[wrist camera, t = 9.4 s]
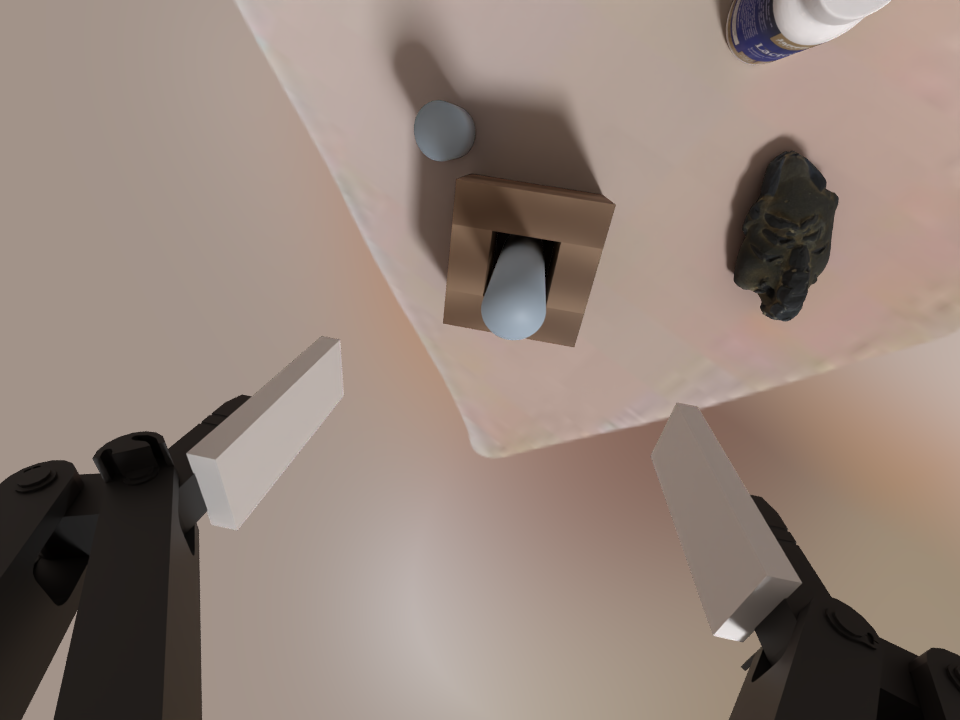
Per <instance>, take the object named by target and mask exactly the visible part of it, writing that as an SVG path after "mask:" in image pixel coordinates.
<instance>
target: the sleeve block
mask: <svg viewBox="0 0 960 720" xmlns="http://www.w3.org/2000/svg"><path fill="white" fill-rule="evenodd" d="M615 206H616V205H615V204H614V203H613V202H611V201H610V200H609V199H607V198H606V197H605V196H604V195H601V194H595V193H589V192H582V191H576V190H570V189H563V188H557V187H551V186H545V185H538V184H532V183H526V182H519V181H513V180H507V179H500V178H494V177H488V176H481V175H475V174H469V175H467V176H464V177H461V178H458V179H456V187H455V198H454V209H453V220H452V231H451V242H450V253H449V263H448V274H447V285H446V296H445V307H444V318H443V324H449V325H454V326H460V327H465V328H471V329H476V330H482V331H487V332H491V331H490V330H489V329H488V327H487V326H486V325H485V323H484V321H483V318H482V313H481V305H482V301H483V298H484V296H485V293H486V290H487V288H488V285H489V282H490V280H491V277H492V274H493V273H492V270H493V263H494V256H495V250H496V243H497V236H498V232H503V233H509V234H515V235H521V236H527V237H533V238H539V239H545V240H551V241H554V246H553V250H552V255H551V259H550V264H549V268H548V272H547V277H546V281H545V295H546V315H545V319H544V322H543V324H542V325H541V327H540V328H539V329H538V331H536V332H535V333H534V334H533V335H531V336H529V337H527V338H526V339H531V340H537V341H542V342H548V343H553V344H559V345H564V346H570V347H574V346H575V343H576V339H577V336H578V332H579V329H580V326H581V322H582V319H583V315H584V312H585V308H586V305H587V302H588V298H589V295H590V291H591V288H592V284H593V281H594V278H595V274H596V271H597V267H598V264H599V260H600V257H601V254H602V250H603V247H604V243H605V240H606V237H607V233H608V230H609V226H610V223H611V219H612V216H613V213H614V209H615Z"/></svg>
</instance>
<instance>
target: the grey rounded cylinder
mask: <svg viewBox="0 0 960 720" xmlns="http://www.w3.org/2000/svg"><path fill="white" fill-rule="evenodd" d="M414 135H415V139H416V142H417V145H418V147H419V148H420V150H421V151H422V152H423V153H424V154H425V155H426V156H427V157H428V158H430V159H432V160H435V161H447V160H451V159H455V158H459V157H462V156H464V155H465V154H466V153H468V152H469V150H470V149H471V147H472V146H473V143H474V140H475V126H474V122H473V120H472V118H471V116H470V115H469V113H468V112H467V111H466V110H464V109H463V108H461V107H459V106H456V105H454V104H451V103H448V102H446V101H442V100H435V101H431V102H429V103H427V104H426V105H424V106H423V107H422V108H421V109H420V111H419V112H418V114H417V116H416V119H415V124H414Z"/></svg>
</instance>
